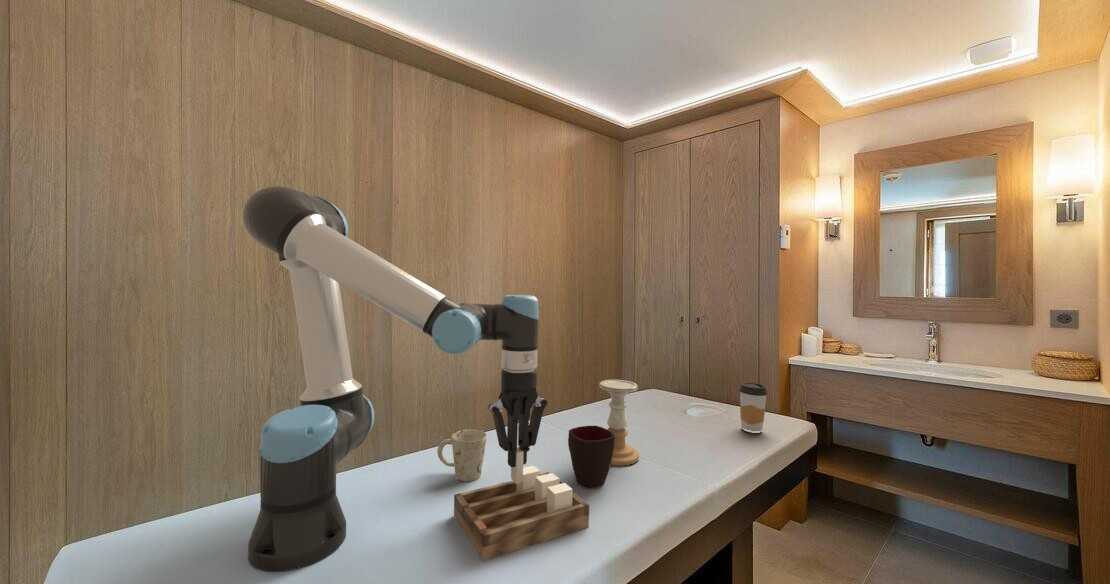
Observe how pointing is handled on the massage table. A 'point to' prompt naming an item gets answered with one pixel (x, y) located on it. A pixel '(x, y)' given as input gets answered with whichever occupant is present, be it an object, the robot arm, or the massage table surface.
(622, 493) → the massage table surface
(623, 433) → the candle holder
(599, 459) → the mug
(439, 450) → the mug
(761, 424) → the coffee cup
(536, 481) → the tab mid
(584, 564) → the massage table surface
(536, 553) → the massage table surface
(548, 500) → the tab near
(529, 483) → the tab far
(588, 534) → the massage table surface
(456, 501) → the wooden compartment tray
